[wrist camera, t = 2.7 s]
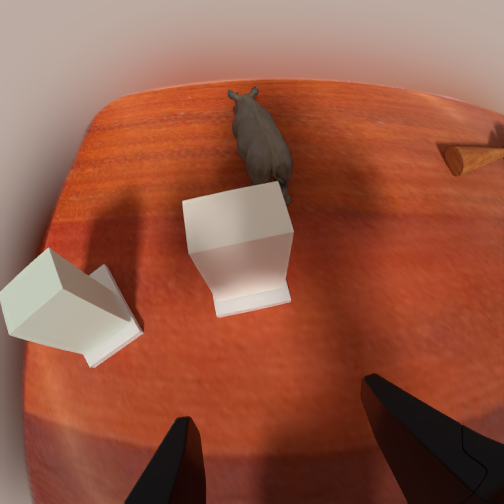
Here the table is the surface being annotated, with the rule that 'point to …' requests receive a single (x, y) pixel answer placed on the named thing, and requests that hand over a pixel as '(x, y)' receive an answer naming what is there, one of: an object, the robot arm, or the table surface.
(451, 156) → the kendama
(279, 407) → the table surface
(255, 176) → the rhino figurine
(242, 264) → the key one
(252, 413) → the table surface
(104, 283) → the plinth
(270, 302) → the plinth
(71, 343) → the key two
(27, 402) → the table surface
